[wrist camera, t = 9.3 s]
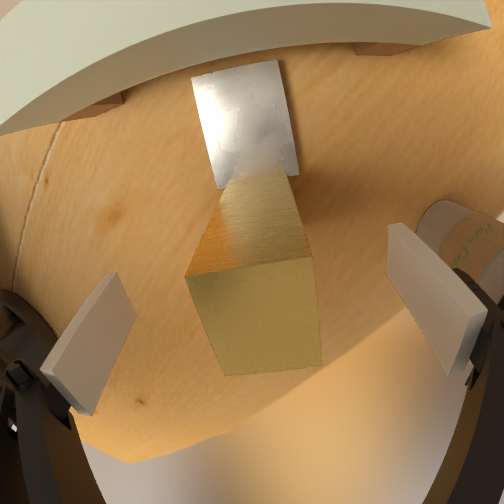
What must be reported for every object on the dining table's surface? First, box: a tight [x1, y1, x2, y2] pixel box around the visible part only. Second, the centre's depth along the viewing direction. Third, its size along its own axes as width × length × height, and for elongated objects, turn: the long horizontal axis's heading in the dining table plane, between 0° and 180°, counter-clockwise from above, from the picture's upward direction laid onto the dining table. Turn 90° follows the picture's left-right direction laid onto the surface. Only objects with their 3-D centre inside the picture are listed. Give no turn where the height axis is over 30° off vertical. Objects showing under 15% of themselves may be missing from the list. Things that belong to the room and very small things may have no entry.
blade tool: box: [185, 59, 322, 376], centre depth 14 cm, size 6×13×14 cm, turn 12°
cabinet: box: [0, 0, 492, 136], centre depth 11 cm, size 24×7×12 cm, turn 102°
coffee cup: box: [416, 200, 504, 310], centre depth 16 cm, size 9×9×15 cm
